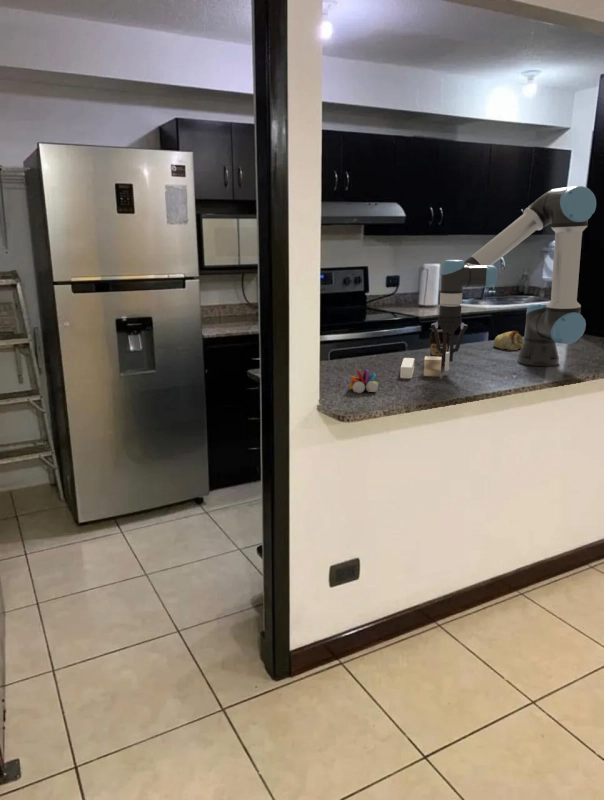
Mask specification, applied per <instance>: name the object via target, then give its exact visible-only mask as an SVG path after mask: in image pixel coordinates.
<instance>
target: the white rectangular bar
mask: <svg viewBox="0 0 604 800" xmlns="http://www.w3.org/2000/svg"><path fill="white" fill-rule="evenodd" d="M415 360H416V359H415V358H413V357H403V359H402V362H401V366H400V374H399V376H400V377H399V378H400V379H412V378H413V375H414V371H415Z"/></svg>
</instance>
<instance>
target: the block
mask: <svg viewBox="0 0 604 800" xmlns="http://www.w3.org/2000/svg"><path fill="white" fill-rule="evenodd" d="M441 361H442V357H433V356H430V355H428V356H427V355H425V356H424V365H423V377H440V376H441V374H442V364H441Z"/></svg>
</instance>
